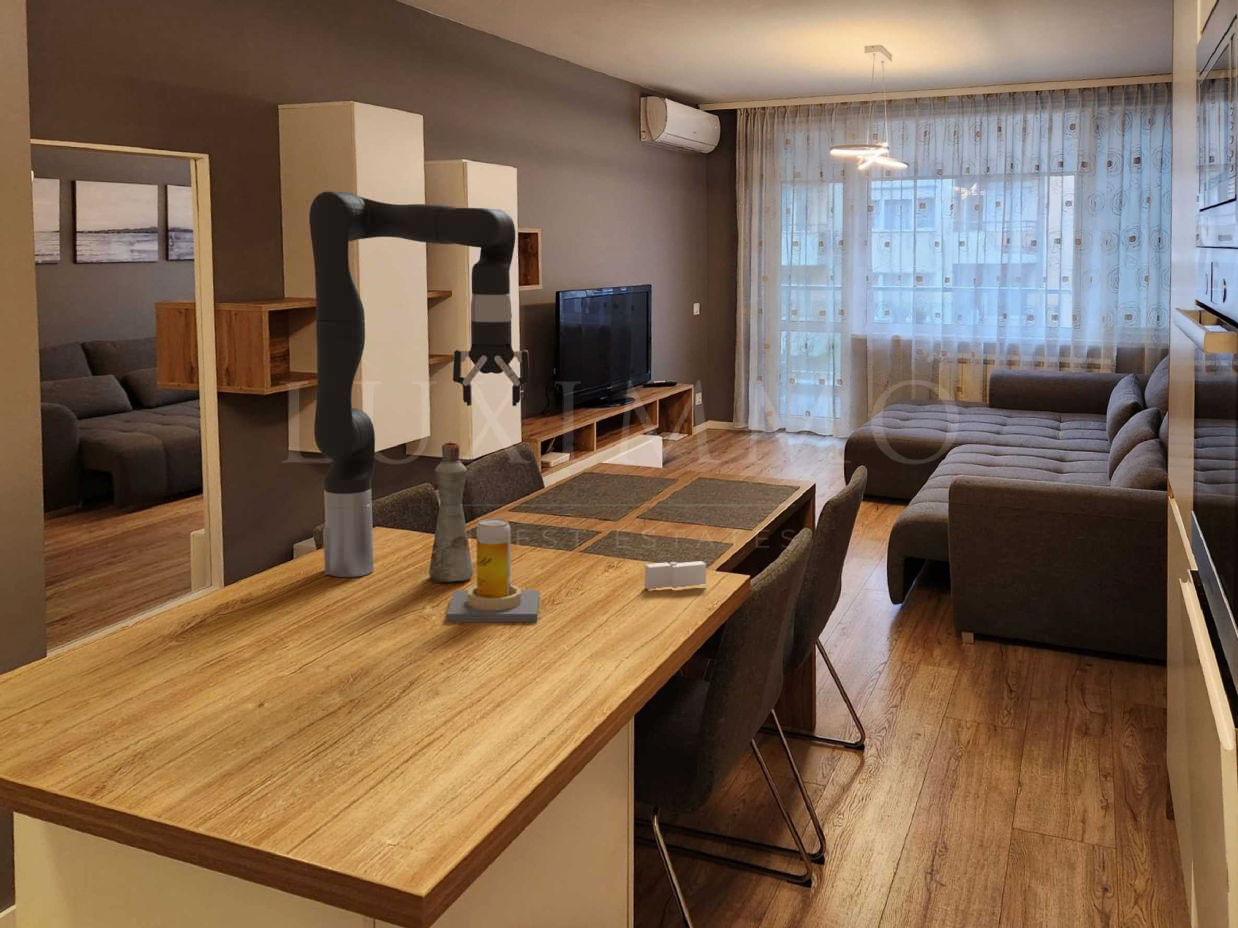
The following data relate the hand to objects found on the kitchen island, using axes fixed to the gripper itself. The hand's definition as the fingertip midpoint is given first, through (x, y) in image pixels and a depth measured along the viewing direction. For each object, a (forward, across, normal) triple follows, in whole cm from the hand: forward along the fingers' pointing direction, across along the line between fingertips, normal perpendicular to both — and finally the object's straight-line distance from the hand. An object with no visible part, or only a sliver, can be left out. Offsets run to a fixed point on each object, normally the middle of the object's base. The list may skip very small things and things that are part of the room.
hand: (492, 405), depth 209 cm
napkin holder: (+37, +35, +1) cm, 51 cm away
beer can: (+35, +1, -12) cm, 37 cm away
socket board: (+36, +1, -12) cm, 38 cm away
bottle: (+36, -9, +7) cm, 38 cm away
